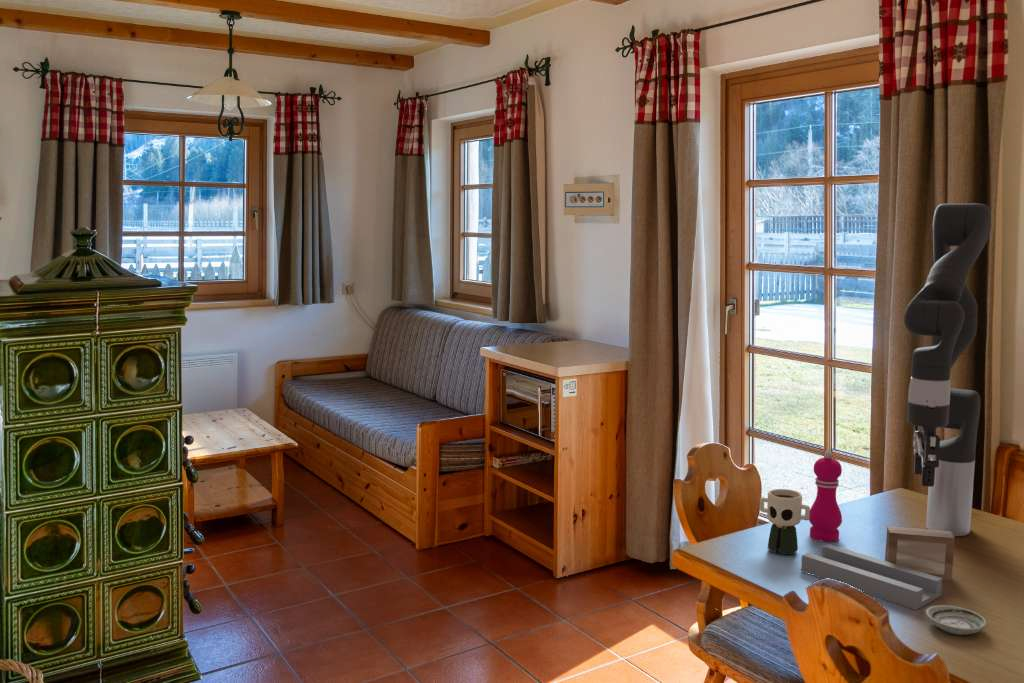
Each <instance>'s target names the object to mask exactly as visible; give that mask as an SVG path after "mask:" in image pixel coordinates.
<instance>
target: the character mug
mask: <svg viewBox="0 0 1024 683" xmlns="http://www.w3.org/2000/svg"><path fill="white" fill-rule="evenodd" d="M802 501H803V494H802V493H801V492H799V491H797V490H793V489H787V488H776V489H775V488H774V489H770V490H768V492H767V497H760V499H759V511H760V512H761V513H766V517H767V520H768V522H770V523H771V527H770V531H769V537H768V543H767V549H768V550H769V551H771V552H773V553H777V550H779V554H781V555H783V554H784V555H789V554H790V555H791V554H794V553H796V552H797V551H798V548H799V547H798V546H799V544H798V535H797V534H798V533H797V528H796V526H797V525H799V524H800V523H801V520H803V521H809V518H810V509H811V507H810V506H809V505H808V504H807V505H806V504H803V502H802ZM765 503H766V504H767V508H765ZM802 510H804V515H803V514H802Z"/></svg>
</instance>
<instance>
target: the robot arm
mask: <svg viewBox="0 0 1024 683" xmlns="http://www.w3.org/2000/svg"><path fill="white" fill-rule="evenodd" d="M991 212H992V211H991V209H990V208H989V206H988V205H987V204H984V203H979V202H978V203H977V202H975V203H974V202H971V203H964V202H963V203H962V202H961V203H954V202H953V203H940V204H939V205H937V206H936V208H935V210H934V214H933V218H932V248H933V249H932V251H933V253H932V254H933V265H932V267H931V268H930V270H929V273H928V275H927V278H926V281H925V284H924V286H923V288H921V290H920V291H918V293H917V294H915V296H914V297H913V298H912V299H911V300H910V302H909V303H908V305H907V307H906V309H905V311H904V314H903V316H904V317H903V322H904V327H905V328H906V329H907V331H908V332H910V333H911V334H913V335H916V336H928V337H929V336H930V346H922V347H917V348H916V349H914V350H913V352H912V356H911V357H912V358H911V371H910V381H909V387H908V395H907V396H908V397H907V412H906V421H907V423H909V424H910V425H913V439H912V446H911V448H912V450H913V455H914V464H913V472H914V474H916V475H921V478H920V480H921V481H920V485H922V486H923V487H928V490H927V491H928V492H927V503H926V505H927V506H926V507H927V508H926V517H925V520H926V522H925V529H928V530H940V531H951V533H952V534H953V536H954V537H963V536H968V535H969V534H970V533H971V521H972V509H973V493H974V480H975V467H976V466H975V464H976V451H977V450H976V449H977V436H978V429H979V428H978V427H979V421H980V415H981V397H980V394H979V392H977V391H976V390H973V389H972V390H971V389H965V388H963V389H962V388H953V387H951V382H950V381H951V369H952V368H953V366H954V365H955V363H956V362H957V361H958V360H959V358H960V357H961V356H962V355H963V354H964V352H965V351H966V350H967V349H968V348H969V346H970V345H971V344H972V342H973V341H974V339H975V337H976V335H977V332H978V330H977V328H978V311H979V310H978V309H979V308H978V303H977V300H976V298H975V296H974V295H973V293H972V291H971V290H970V288H969V287H968V285H967V284H966V281H967V280H968V276H969V273H970V272H971V269H972V268H973V266H974V264H975V263H976V261H977V260H978V259H979V256H980V255H981V253H982V251H983V249H984V248H985V246H986V244H987V241H988V239H989V237H990V234H991V228H992V213H991ZM951 247H955V248H953V249H951ZM937 428H944V429H949V430H950V429H952V430H957V431H958V430H959V431H960V432H961V433H960V434H959V435H957V436H955V437H952V438H950V439H944V440H941V438H940V436H939V434H938V435H937ZM929 458H930V459H929Z"/></svg>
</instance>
